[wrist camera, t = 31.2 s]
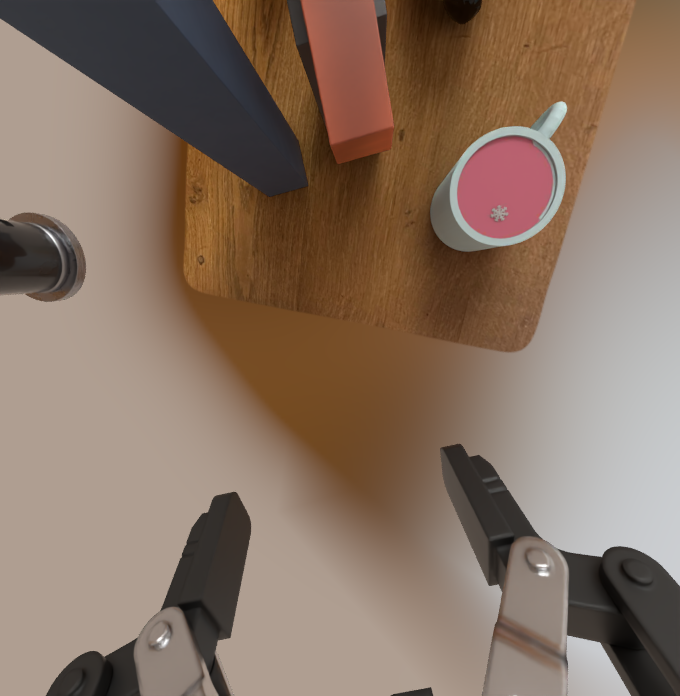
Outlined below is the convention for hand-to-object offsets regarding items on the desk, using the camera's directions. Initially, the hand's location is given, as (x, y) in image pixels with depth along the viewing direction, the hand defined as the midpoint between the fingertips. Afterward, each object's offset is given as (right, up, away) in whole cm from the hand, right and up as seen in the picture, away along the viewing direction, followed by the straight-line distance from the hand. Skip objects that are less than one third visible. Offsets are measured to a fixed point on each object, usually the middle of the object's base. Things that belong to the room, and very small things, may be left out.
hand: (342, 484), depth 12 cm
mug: (+16, +23, +24) cm, 37 cm away
